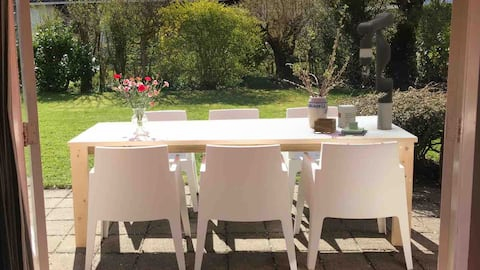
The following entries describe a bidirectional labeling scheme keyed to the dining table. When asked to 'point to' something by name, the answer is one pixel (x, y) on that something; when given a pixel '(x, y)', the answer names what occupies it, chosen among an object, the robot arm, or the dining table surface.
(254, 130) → the dining table surface
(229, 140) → the dining table surface
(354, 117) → the supplement box
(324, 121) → the walnut box
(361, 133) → the rubber mat
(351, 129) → the lid
